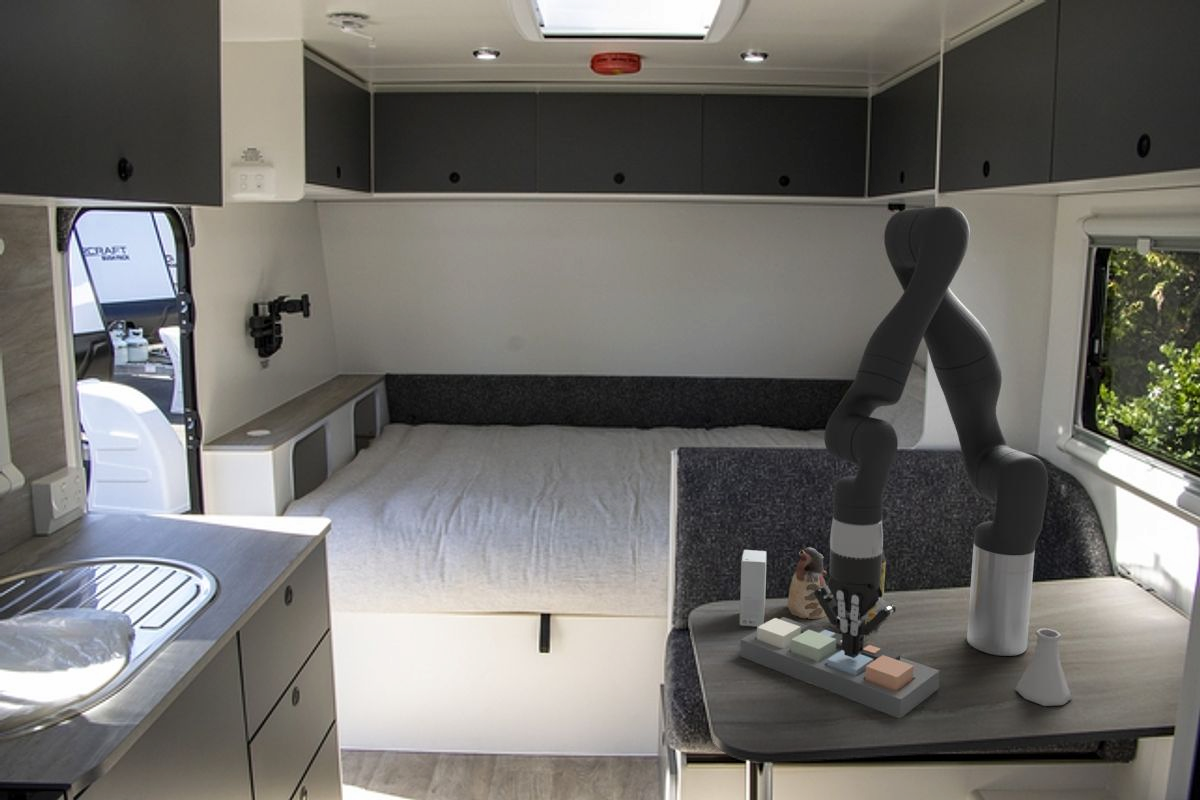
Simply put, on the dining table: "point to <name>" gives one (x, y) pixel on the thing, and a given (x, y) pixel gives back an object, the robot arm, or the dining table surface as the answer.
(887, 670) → the block
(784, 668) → the keypad board
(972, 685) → the dining table surface
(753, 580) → the skincare box
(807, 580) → the figurine
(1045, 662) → the flask
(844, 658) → the key blue
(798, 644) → the key sage
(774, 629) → the key cream
